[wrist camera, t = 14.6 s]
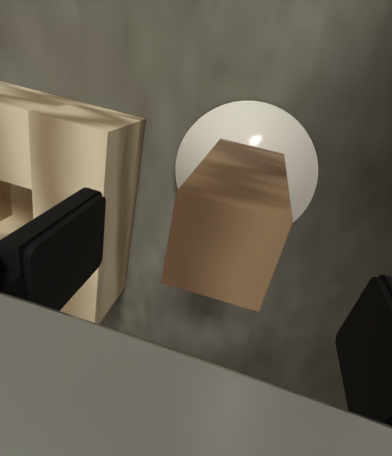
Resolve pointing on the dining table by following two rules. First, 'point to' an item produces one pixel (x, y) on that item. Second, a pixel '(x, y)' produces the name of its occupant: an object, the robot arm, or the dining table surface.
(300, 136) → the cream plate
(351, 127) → the dining table surface
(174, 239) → the walnut peg
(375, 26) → the dining table surface
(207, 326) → the dining table surface
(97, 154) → the birch pocket block
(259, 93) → the dining table surface
